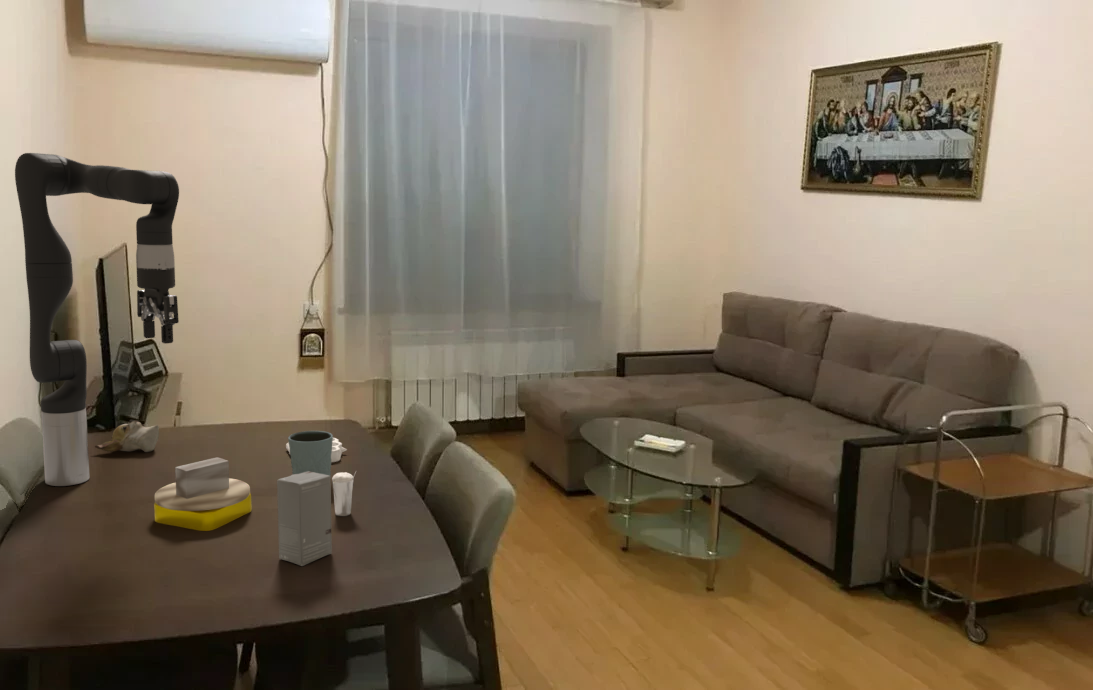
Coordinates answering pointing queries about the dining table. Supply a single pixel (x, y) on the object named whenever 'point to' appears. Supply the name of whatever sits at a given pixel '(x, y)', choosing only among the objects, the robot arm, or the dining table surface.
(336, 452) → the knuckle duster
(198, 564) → the dining table surface
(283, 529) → the skincare box
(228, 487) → the lid
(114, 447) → the ceramic sculpture
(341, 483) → the milkshake
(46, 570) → the dining table surface
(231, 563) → the dining table surface
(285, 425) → the dining table surface
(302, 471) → the blue-grey pot
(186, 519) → the element tile
